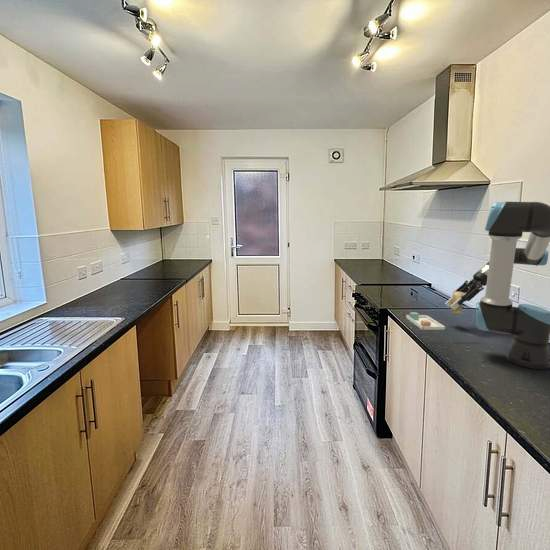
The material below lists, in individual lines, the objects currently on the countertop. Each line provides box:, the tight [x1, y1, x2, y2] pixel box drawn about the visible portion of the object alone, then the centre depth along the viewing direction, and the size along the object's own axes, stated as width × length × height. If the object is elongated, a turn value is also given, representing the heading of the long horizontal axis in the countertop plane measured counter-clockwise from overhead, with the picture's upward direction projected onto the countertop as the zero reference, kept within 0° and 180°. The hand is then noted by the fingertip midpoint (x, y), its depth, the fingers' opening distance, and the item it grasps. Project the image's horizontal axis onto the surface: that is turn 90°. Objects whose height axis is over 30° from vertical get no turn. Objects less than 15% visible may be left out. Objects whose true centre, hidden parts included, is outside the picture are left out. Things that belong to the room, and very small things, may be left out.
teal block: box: [409, 311, 420, 320], centre depth 204 cm, size 4×4×4 cm
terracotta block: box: [421, 320, 431, 326], centre depth 189 cm, size 4×4×4 cm
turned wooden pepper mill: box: [450, 290, 465, 315], centre depth 189 cm, size 5×5×11 cm
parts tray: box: [405, 314, 446, 331], centre depth 197 cm, size 21×12×2 cm, turn 3°
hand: (449, 306), depth 189 cm, fingers closed on turned wooden pepper mill, 5 cm apart
